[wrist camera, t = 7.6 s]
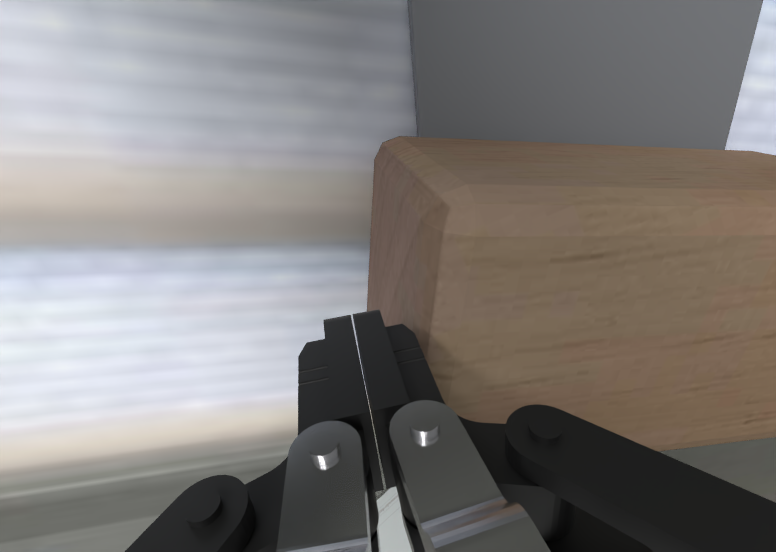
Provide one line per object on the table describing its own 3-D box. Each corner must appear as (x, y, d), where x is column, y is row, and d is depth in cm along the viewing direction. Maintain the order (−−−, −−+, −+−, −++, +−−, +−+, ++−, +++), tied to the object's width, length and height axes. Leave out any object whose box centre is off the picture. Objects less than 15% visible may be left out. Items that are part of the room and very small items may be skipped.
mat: (399, -115, 15) (403, -122, 15) (786, -145, 17) (802, -152, 16) (436, 389, 26) (439, 395, 26) (667, 338, 28) (674, 343, 27)
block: (440, 194, 9) (1049, 203, 13) (371, 131, 18) (749, 148, 22) (403, 496, 14) (869, 436, 18) (362, 327, 22) (679, 312, 26)
